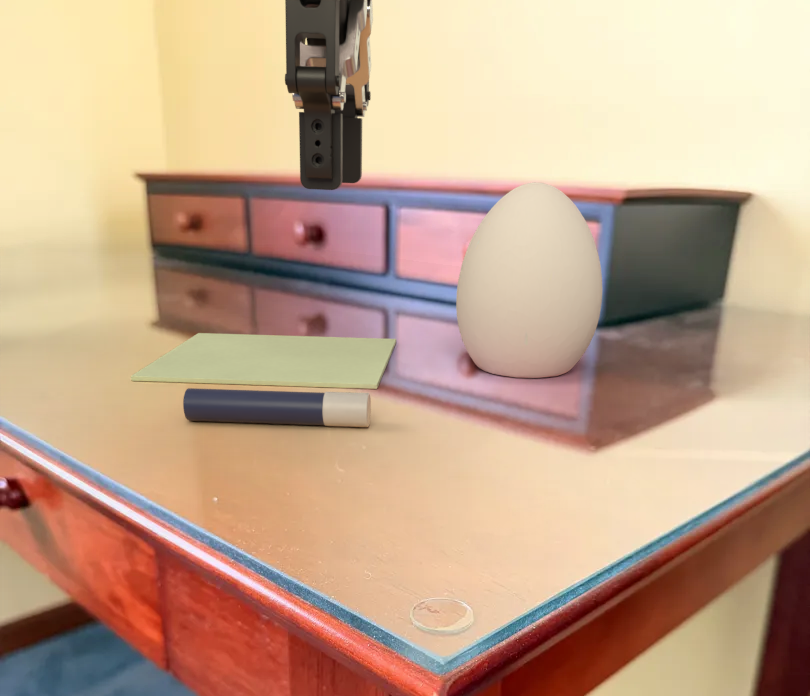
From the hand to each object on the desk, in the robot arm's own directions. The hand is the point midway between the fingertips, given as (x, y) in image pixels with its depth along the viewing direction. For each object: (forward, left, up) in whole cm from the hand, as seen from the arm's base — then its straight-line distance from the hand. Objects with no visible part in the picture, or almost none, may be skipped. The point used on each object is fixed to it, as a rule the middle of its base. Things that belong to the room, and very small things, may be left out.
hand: (333, 185), depth 49 cm
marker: (-5, +2, -15) cm, 16 cm away
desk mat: (-9, +20, -15) cm, 27 cm away
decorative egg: (+13, +20, -15) cm, 29 cm away
